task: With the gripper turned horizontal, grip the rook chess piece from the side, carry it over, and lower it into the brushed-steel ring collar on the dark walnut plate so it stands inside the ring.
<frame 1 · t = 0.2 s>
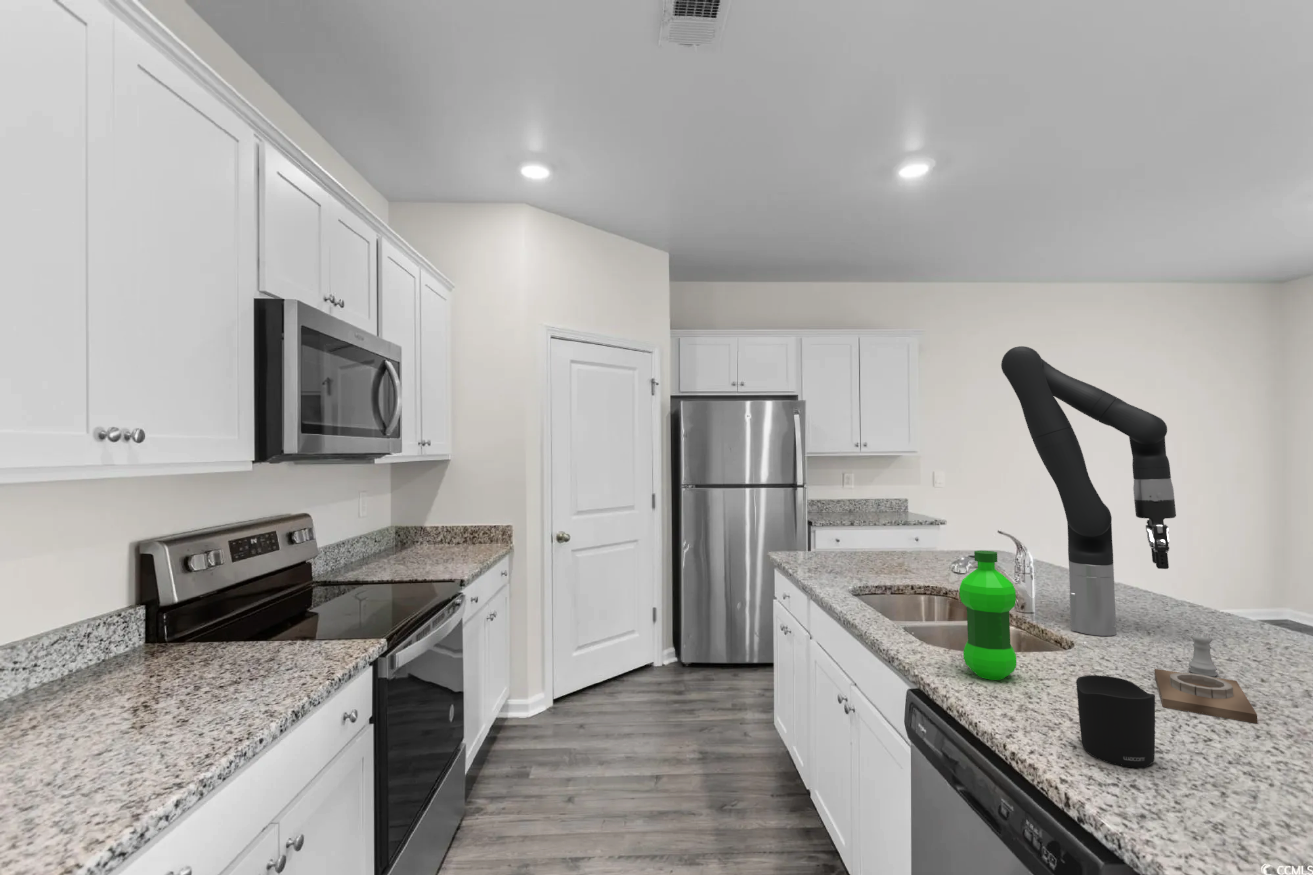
hand: (1160, 565, 145), 18 cm above the table, fingers open, 8 cm apart
rook chess piece: (1203, 674, 122), on the table
ring plate: (1201, 697, 110), on the table
plastic bottle: (990, 676, 123), on the table
pen holder: (1117, 755, 91), on the table
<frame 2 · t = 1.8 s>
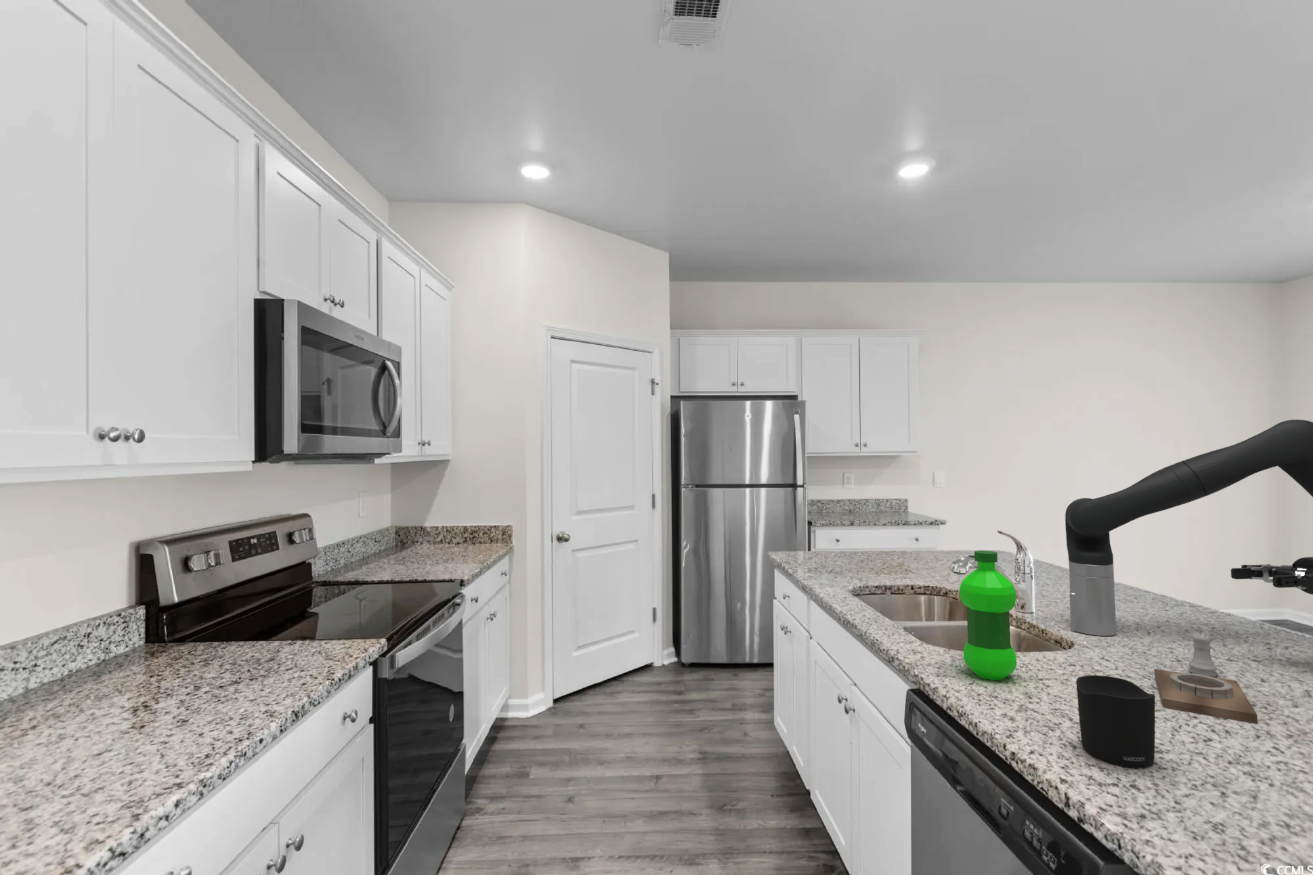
hand: (1252, 577, 123), 19 cm above the table, fingers open, 8 cm apart
nothing on the table moved.
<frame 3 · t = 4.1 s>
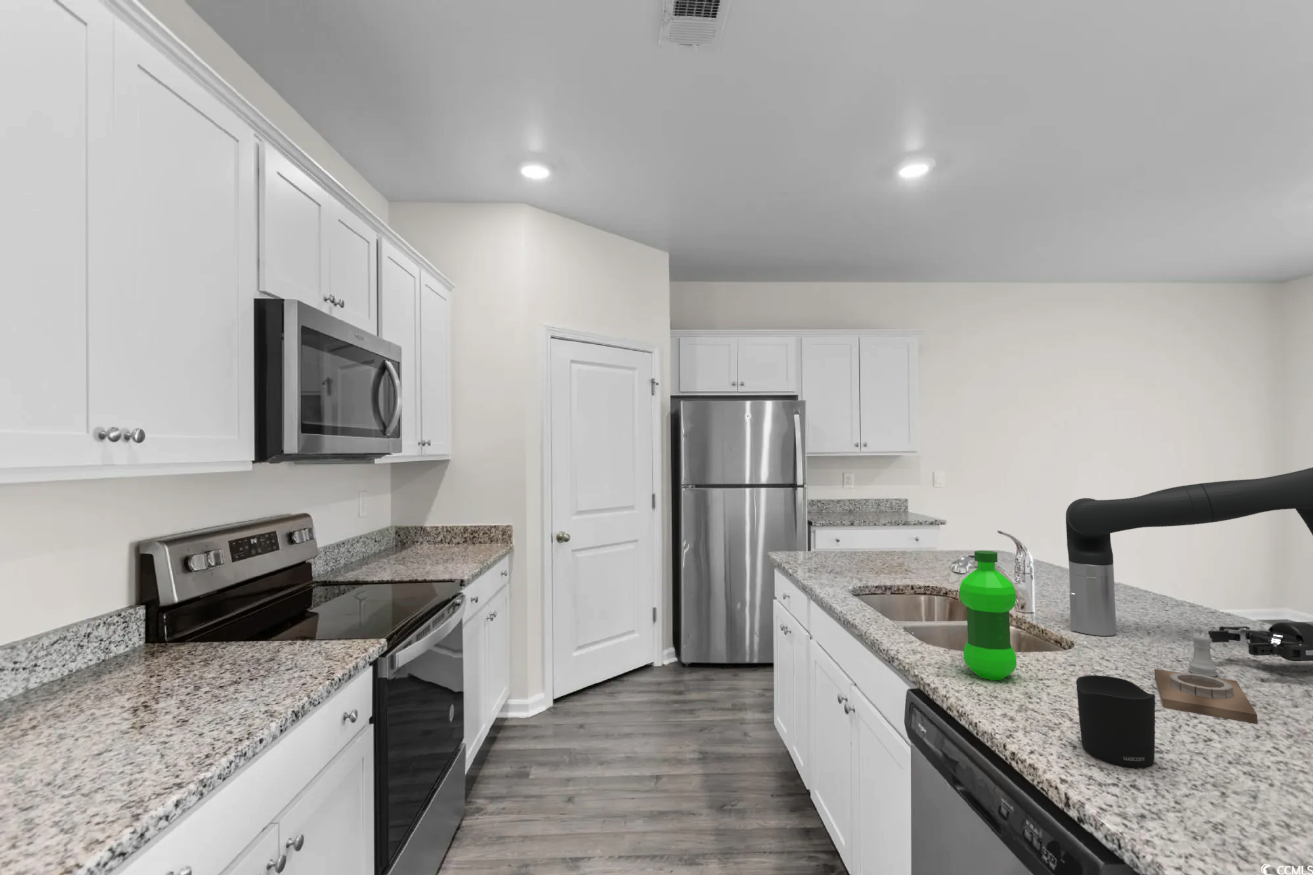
hand: (1229, 642, 123), 6 cm above the table, fingers open, 8 cm apart
nothing on the table moved.
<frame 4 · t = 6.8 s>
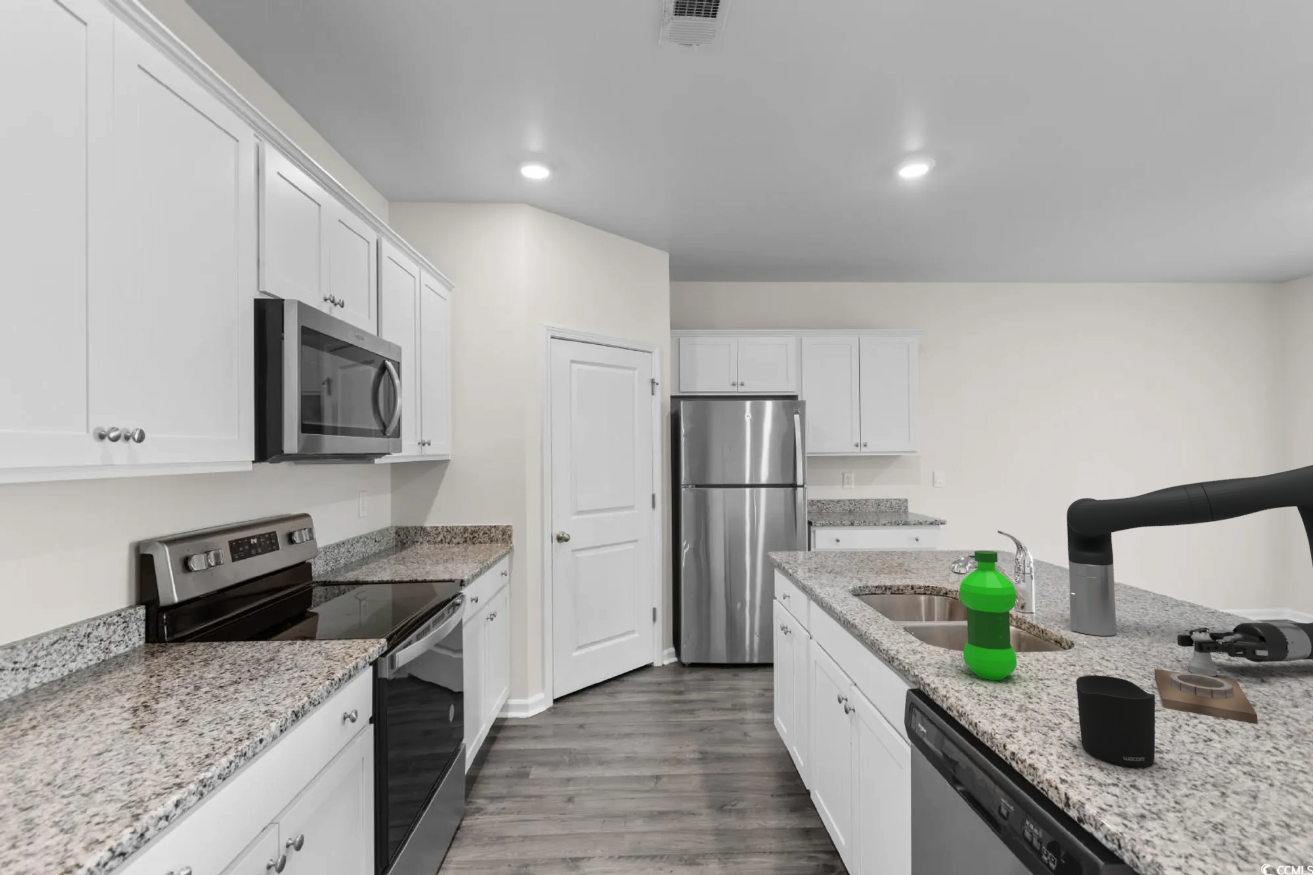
hand: (1187, 643, 122), 6 cm above the table, fingers closed on rook chess piece, 3 cm apart
rook chess piece: (1203, 674, 122), on the table, touching gripper
everything else where it was.
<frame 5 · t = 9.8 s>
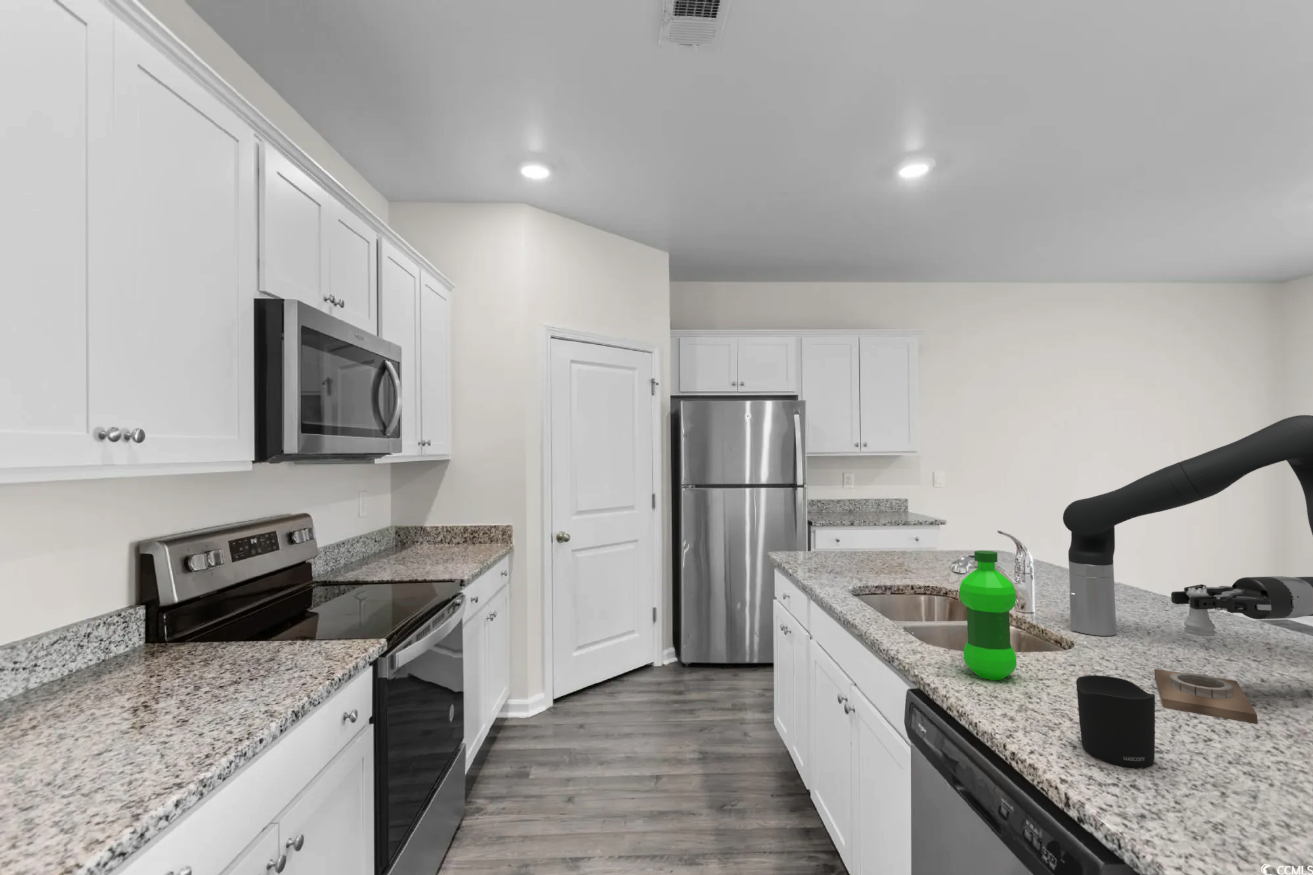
hand: (1182, 600, 111), 18 cm above the table, fingers closed on rook chess piece, 3 cm apart
rook chess piece: (1200, 634, 111), point 11 cm above the table, touching gripper
everything else where it was.
when the fingers open (8 cm above the table, at t = 12.8 s): rook chess piece stays where it is, resting on ring plate.
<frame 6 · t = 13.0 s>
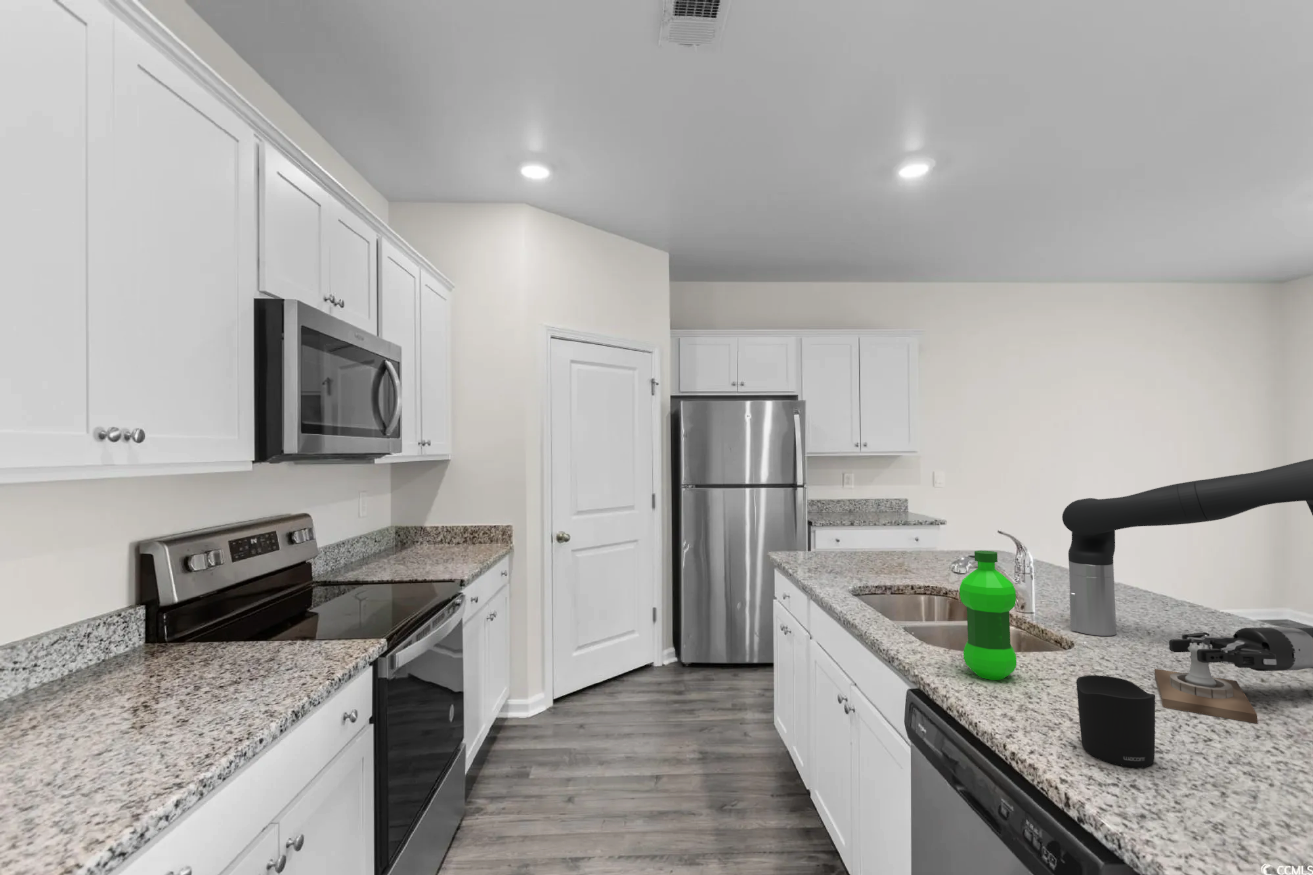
hand: (1184, 650, 111), 8 cm above the table, fingers open, 5 cm apart
rook chess piece: (1200, 690, 111), point 1 cm above the table, touching ring plate
everything else where it was.
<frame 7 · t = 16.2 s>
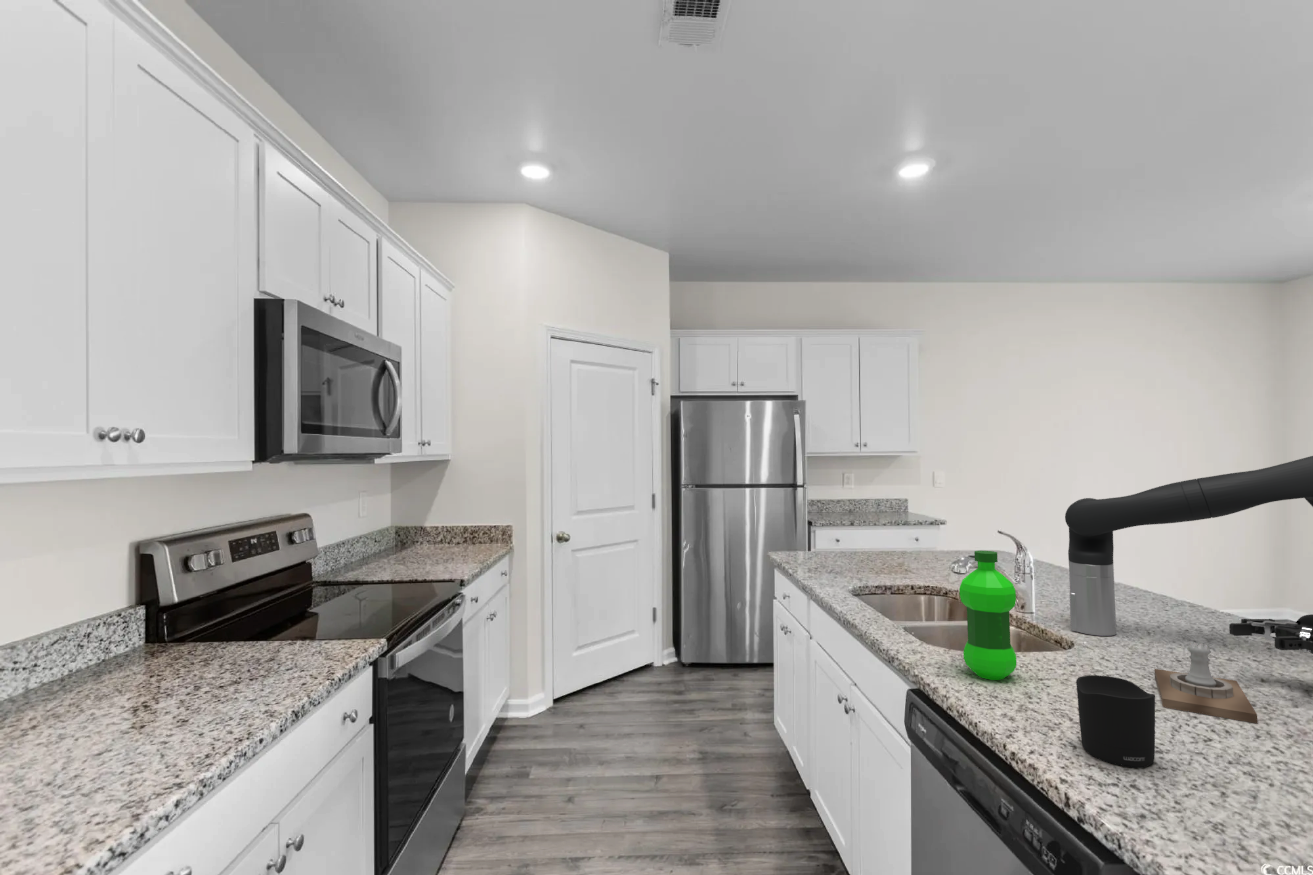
hand: (1253, 636, 113), 10 cm above the table, fingers open, 8 cm apart
nothing on the table moved.
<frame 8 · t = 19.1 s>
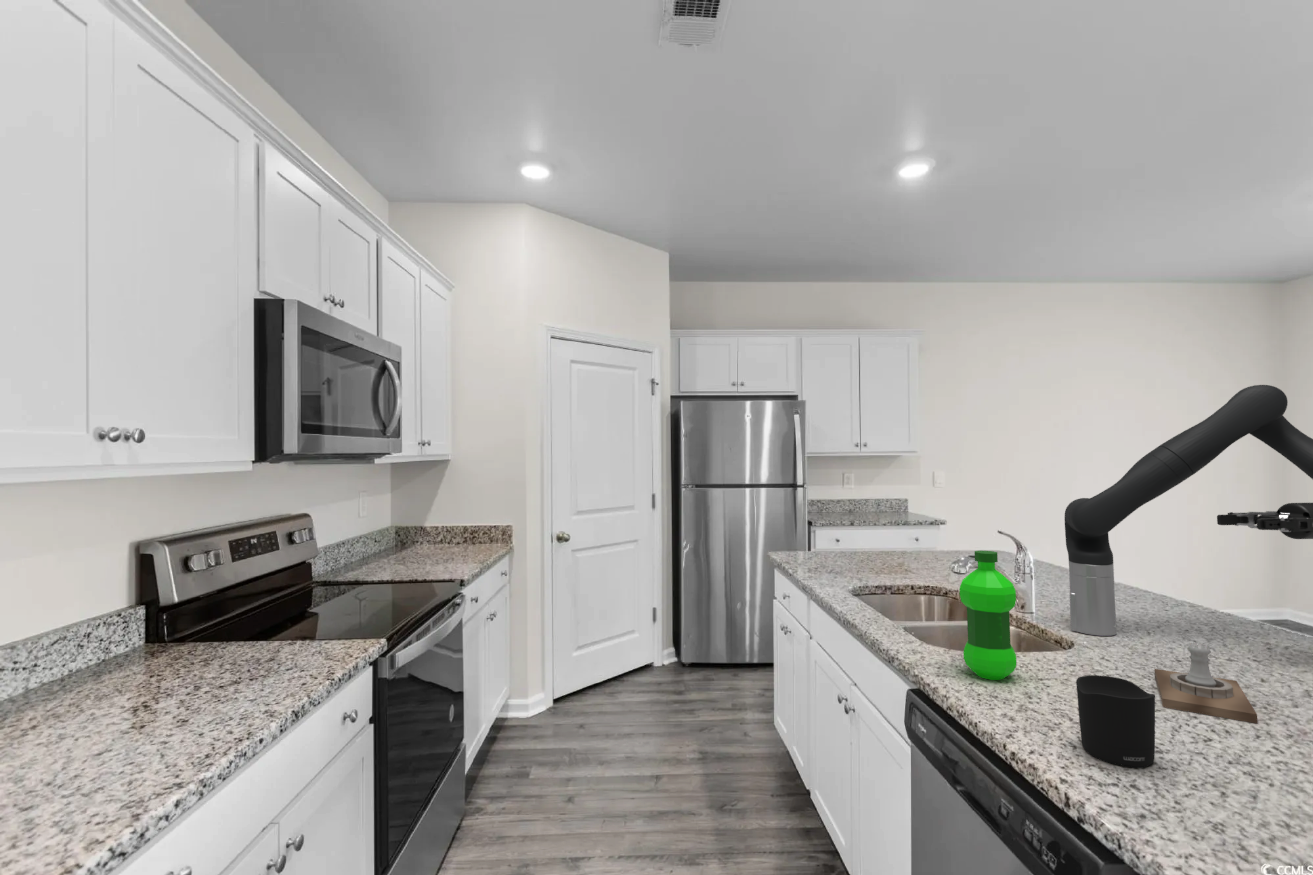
hand: (1238, 522, 126), 30 cm above the table, fingers open, 8 cm apart
nothing on the table moved.
at the end: rook chess piece 0.2 cm off-centre on the ring plate, point 1.3 cm above the ring plate's base; rook chess piece tilted 0°; the gripper is holding nothing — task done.
